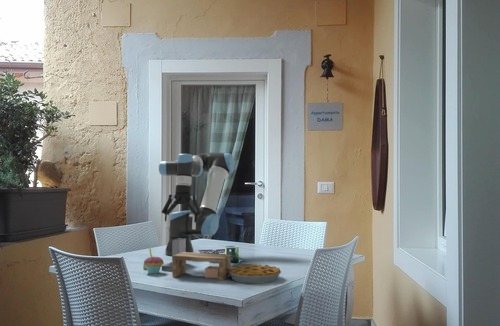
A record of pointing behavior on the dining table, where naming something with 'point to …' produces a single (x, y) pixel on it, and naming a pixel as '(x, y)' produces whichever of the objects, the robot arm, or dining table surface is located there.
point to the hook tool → (175, 251)
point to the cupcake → (153, 264)
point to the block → (212, 272)
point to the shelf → (181, 258)
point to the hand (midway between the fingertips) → (180, 228)
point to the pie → (254, 273)
